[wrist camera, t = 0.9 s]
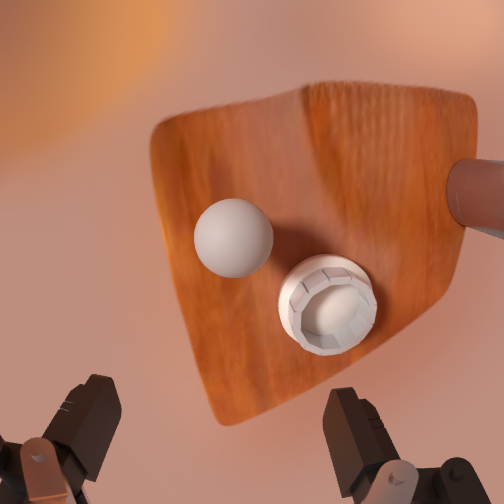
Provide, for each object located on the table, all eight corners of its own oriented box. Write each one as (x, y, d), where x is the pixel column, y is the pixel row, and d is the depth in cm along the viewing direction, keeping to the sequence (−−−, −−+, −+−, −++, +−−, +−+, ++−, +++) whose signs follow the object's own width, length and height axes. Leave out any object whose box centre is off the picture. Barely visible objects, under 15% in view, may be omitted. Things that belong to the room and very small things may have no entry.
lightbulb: (272, 237, 31) (290, 272, 20) (219, 258, 31) (209, 302, 20) (252, 183, 29) (259, 189, 18) (196, 205, 29) (173, 223, 19)
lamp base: (344, 235, 31) (362, 246, 26) (377, 308, 34) (395, 327, 29) (259, 285, 32) (263, 305, 27) (303, 352, 35) (311, 377, 30)
